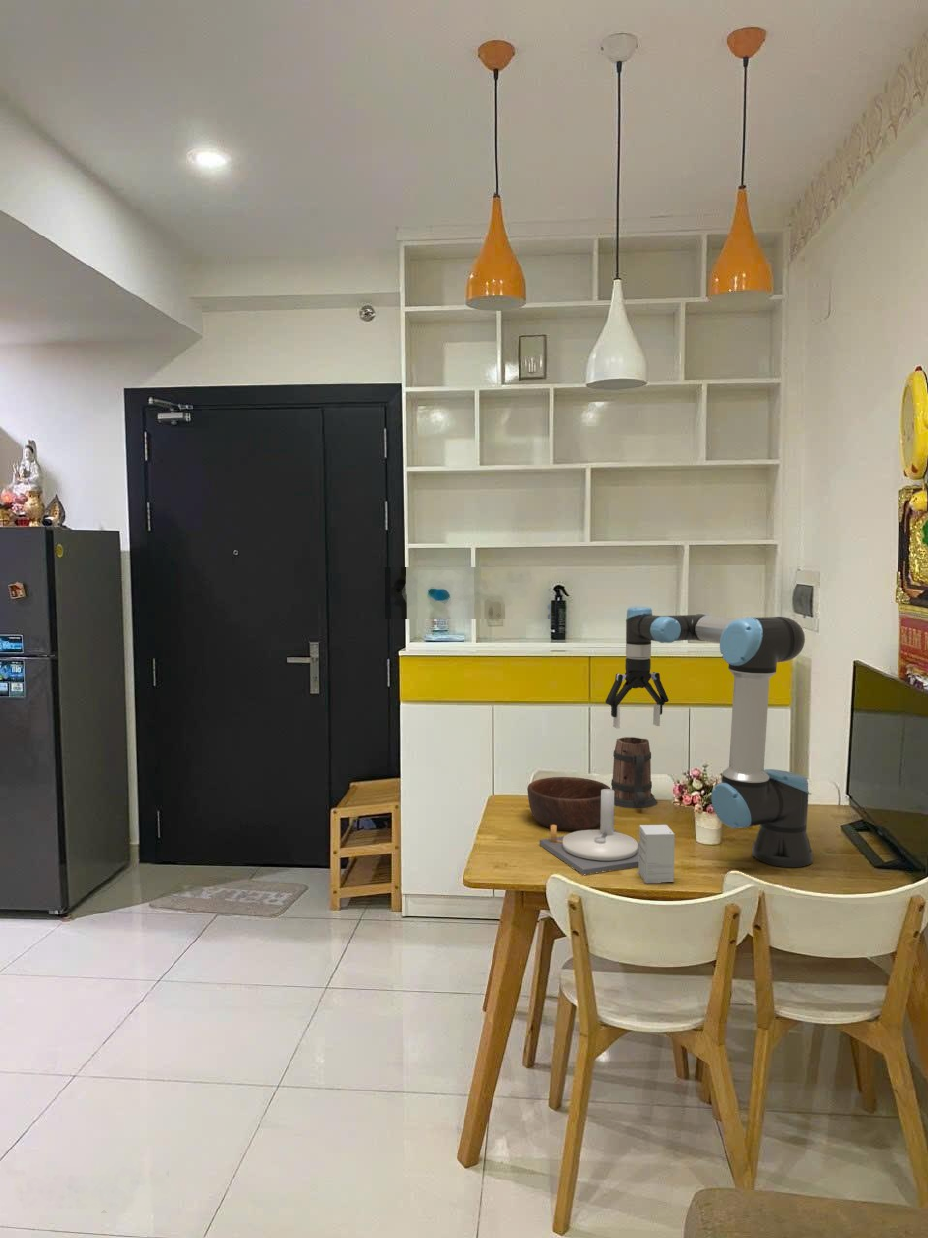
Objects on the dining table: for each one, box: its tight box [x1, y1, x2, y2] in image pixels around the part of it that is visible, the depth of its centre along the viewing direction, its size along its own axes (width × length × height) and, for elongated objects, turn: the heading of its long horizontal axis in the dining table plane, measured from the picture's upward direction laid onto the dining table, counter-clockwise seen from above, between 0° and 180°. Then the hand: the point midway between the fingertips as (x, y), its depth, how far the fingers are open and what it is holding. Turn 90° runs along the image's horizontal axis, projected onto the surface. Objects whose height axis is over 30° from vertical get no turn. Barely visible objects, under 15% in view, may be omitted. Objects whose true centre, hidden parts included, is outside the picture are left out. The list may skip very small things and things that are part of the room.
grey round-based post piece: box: [563, 788, 639, 861], centre depth 237 cm, size 20×20×14 cm
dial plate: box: [539, 825, 639, 876], centre depth 237 cm, size 24×24×6 cm
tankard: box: [610, 736, 658, 809], centre depth 283 cm, size 24×17×20 cm
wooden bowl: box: [527, 776, 611, 832], centre depth 265 cm, size 25×25×10 cm
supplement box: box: [637, 824, 676, 884], centre depth 220 cm, size 7×7×13 cm
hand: (636, 726), depth 271 cm, fingers open, 13 cm apart
